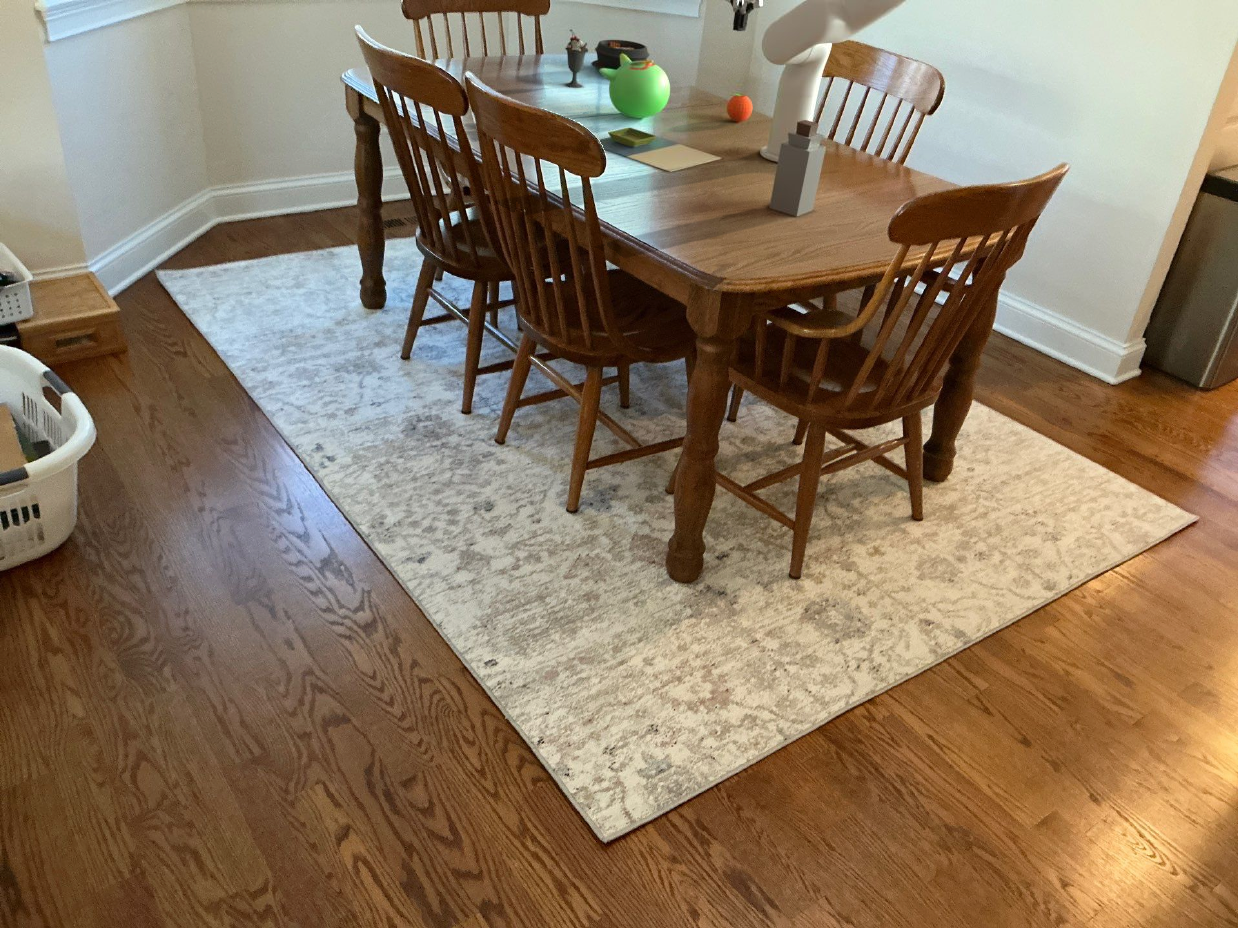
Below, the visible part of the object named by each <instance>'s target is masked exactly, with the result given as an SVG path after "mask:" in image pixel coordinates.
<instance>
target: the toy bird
mask: <svg viewBox="0 0 1238 928" xmlns="http://www.w3.org/2000/svg"><path fill="white" fill-rule="evenodd" d="M654 62H655V61H654V60H652V59H651V60H646V61H641V60H637V61H634V62H632V61H631V60H630V59H629V58H628V57H627V56H626V55H625V54H620V63H621V67H619V68H618V69H617V70H614V69H606V68H601V69H600V70H599V69H598V72H599V74H600V75H602V77H604V78H605V79H606V80H607V81H609V85H608V95H609V99H610V102H611V103H612V105H613V107H614V108H615V109H616V110H617V111H618V112H619V113H620V114H622V115H624V116H625V117H630V118H633V119H645V118H649V117H652V116H655V115H657V114H658V113H660V112H661V111H662V110H663V109H664V108H665V107H666V106H667V104H668V101H669V98H670V95H671V86H670V81H669V78H668V75H667V74H666V72H665V71H664V70H663V68H661V67H660V66H659V65H657V64H654Z"/></svg>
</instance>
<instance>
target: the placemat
mask: <svg viewBox="0 0 1238 928" xmlns="http://www.w3.org/2000/svg"><path fill="white" fill-rule="evenodd" d="M598 140H600V142H601V144H602V145H603V148H604V149H603V150H605V151H608V152H611V153H614V154H616V155H619V156H622V157H625V158H628V159H632V160H634V161H637V162H640V163H643V164H646V165H647V166H648V165H649V166H651V167H654V168H656V169H660V170H663V171H666V172H668V173H672V172H675V171H679V170H683V169H687V168H691V167H695V166H699V165H702V164H706V163H710V162H715V161H718V160H722V157H720V156H716V155H713V154H711V153H708V152H704V151H702V150H699V149H696V148H692V147H689V146H686V145H683V144H680V143H677V142H674V141H672V140H668V139H665V138H663V137H658V136H656V138H655V139H654V140H653V141H652V142H650V143H649V144H646V145H642V146H638V147H630V146H627V145H624V144H621V143H618V142H615V141H614V140H613V139H612V138H611V137H610V136H609V137H605V138H600V139H598Z"/></svg>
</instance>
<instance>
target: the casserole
mask: <svg viewBox="0 0 1238 928" xmlns="http://www.w3.org/2000/svg"><path fill="white" fill-rule="evenodd" d="M594 51H595V52H596V60H593V61H591V63H590V64H591V66H592V67H593V68H594V69H597V70H598V71H599V70H600V69H601V68H606V69H614V70H617V69H618V68H619V67H621V63H620V54H625V55H626V56H627V57H628V58H629V59H630V60H631V61H632V62H634V61H637V60H641V61H648V58H649V57H650V53H649V51H648V46H646V45H645V44H642V43H639V42H636V41H630V40H624V39H604V40H600V41H598V43H597V45H596V47H595V48H594Z"/></svg>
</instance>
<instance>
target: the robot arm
mask: <svg viewBox="0 0 1238 928" xmlns="http://www.w3.org/2000/svg"><path fill="white" fill-rule="evenodd" d="M908 1H909V0H804V1H802V2H801V3H799V4H798V5H796V6H795V7H793V8H791V9H789V11H787V12H786V13H784V14H783V15H781V16H780V17H778V18H777V19H775V20H774V21H773V22H772V23H771V24H770V25H769V26H768V27H767V29H766V30H765V31H764V34H763V36H762V40H761V50H762V54H763V56H764V58H765V59H766V60H767V61H768V62H769V63H771V64H773V65H776V66H784V68H783V70H782V72H781V74H780V76H779V77H780V78H779V82H778V87H777V92H776V97H775V103H774V109H773V114H772V119H771V126H770V130H769V137H768V142H767V143H768V144H767V145H765V146H762V147H761V148H760V152H759V153H760V156H761V157H763V158H764V159H767V160H768V161H772V162H776V163H778V159H779V153H780V148H781V143H785V142H788V141H789V139H788V133H789V132H792V131H796V130H797V122H799V121H803V120H808V121H811V122H813V119H814V115H815V110H816V103H817V99H818V94H819V91H820V90H819V89H820V85H821V80H822V77H823V73H824V69H825V68H826V67H825V66H826V64H827V61H828V59H829V56H830V53H831V50H832V45H833V44H839V43H843V42H846V41H848V40H850V39H852V38H853V37H855V36H856V35H857V34H859V33H861V32H862V31H864V30H866V29H867V28H869V27H871V26H872V25H874V24H875V23H877V22H879V21H880V20H881V19H883V18H884V17H886V16H888V15H889V14H892V13H893V12H894V11H896V10H898V9H899V8H901V7H903V6H904V5H905V4H906V3H908ZM725 2H726V3H729V4H730V5H731V7H732V11H733V13H734V17H733V20H732V21H733V22H732V30H733V31H736V32H745V31H746V29H747V25H748V19H749V14H751V13H752V11H754V9H761V8H763V6H764V0H725Z"/></svg>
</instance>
